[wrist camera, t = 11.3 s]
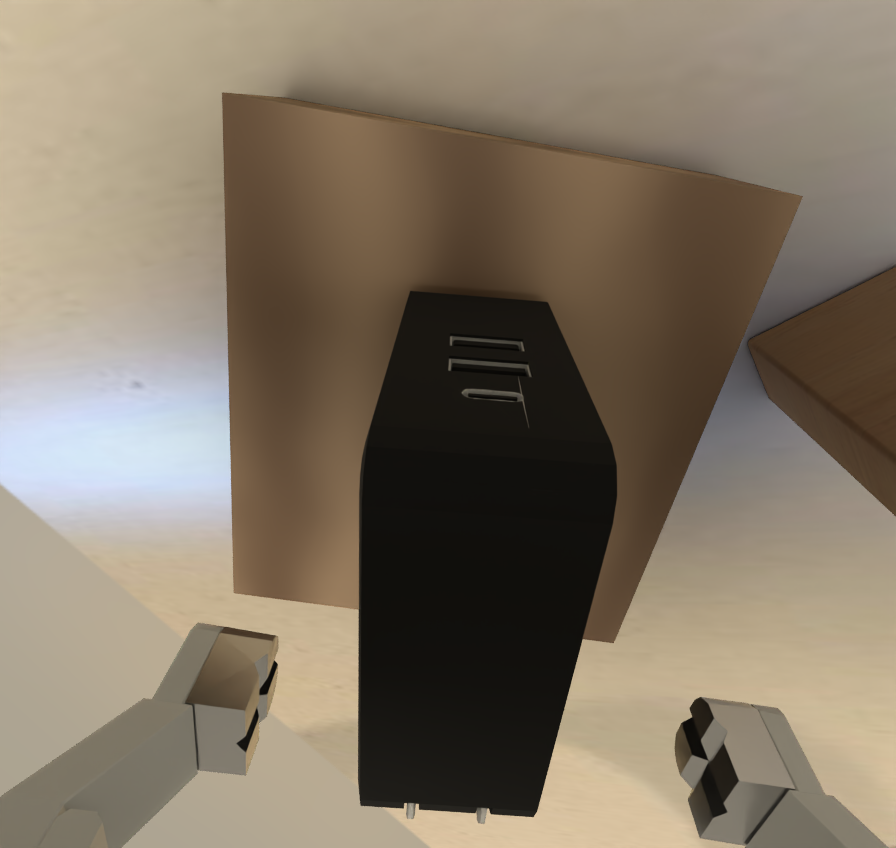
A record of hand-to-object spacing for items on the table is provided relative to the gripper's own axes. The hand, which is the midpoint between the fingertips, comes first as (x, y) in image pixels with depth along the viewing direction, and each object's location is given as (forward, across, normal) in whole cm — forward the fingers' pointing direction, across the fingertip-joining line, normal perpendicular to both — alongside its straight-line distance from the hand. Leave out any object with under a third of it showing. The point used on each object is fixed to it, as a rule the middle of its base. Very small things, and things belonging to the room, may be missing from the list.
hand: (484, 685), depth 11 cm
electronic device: (+10, +1, 0) cm, 10 cm away
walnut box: (+16, +1, 0) cm, 16 cm away
